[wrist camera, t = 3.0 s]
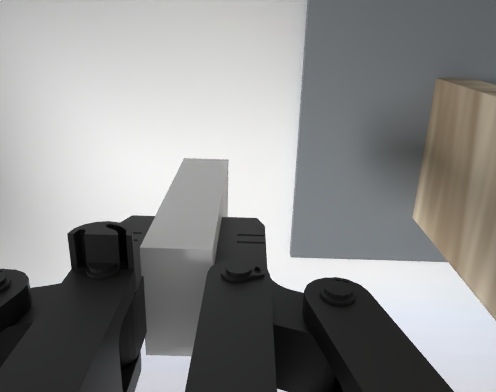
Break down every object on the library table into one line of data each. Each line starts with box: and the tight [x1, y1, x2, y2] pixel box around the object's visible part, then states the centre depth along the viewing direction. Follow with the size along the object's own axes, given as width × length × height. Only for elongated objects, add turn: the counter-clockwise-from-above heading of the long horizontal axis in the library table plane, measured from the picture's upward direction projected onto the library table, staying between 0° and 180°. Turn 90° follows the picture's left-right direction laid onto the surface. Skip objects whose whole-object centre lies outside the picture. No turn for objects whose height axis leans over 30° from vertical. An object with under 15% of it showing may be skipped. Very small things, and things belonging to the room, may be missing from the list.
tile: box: [412, 78, 496, 320], centre depth 18 cm, size 2×7×10 cm, turn 178°
